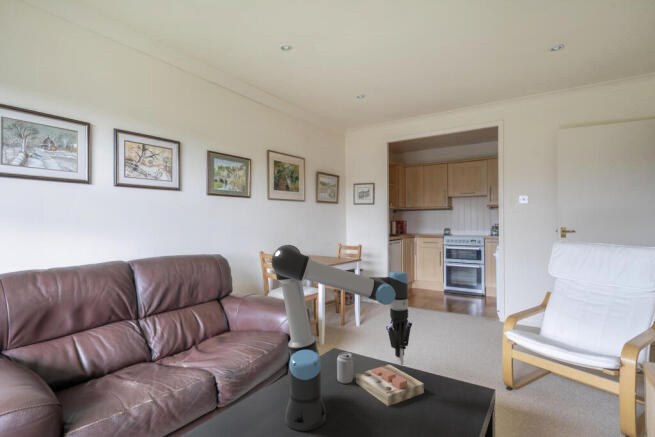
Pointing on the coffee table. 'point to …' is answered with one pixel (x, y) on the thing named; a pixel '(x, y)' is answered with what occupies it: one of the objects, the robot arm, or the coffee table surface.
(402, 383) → the button
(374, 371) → the button
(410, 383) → the board
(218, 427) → the coffee table surface
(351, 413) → the coffee table surface
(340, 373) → the can
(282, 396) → the coffee table surface
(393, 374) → the button
